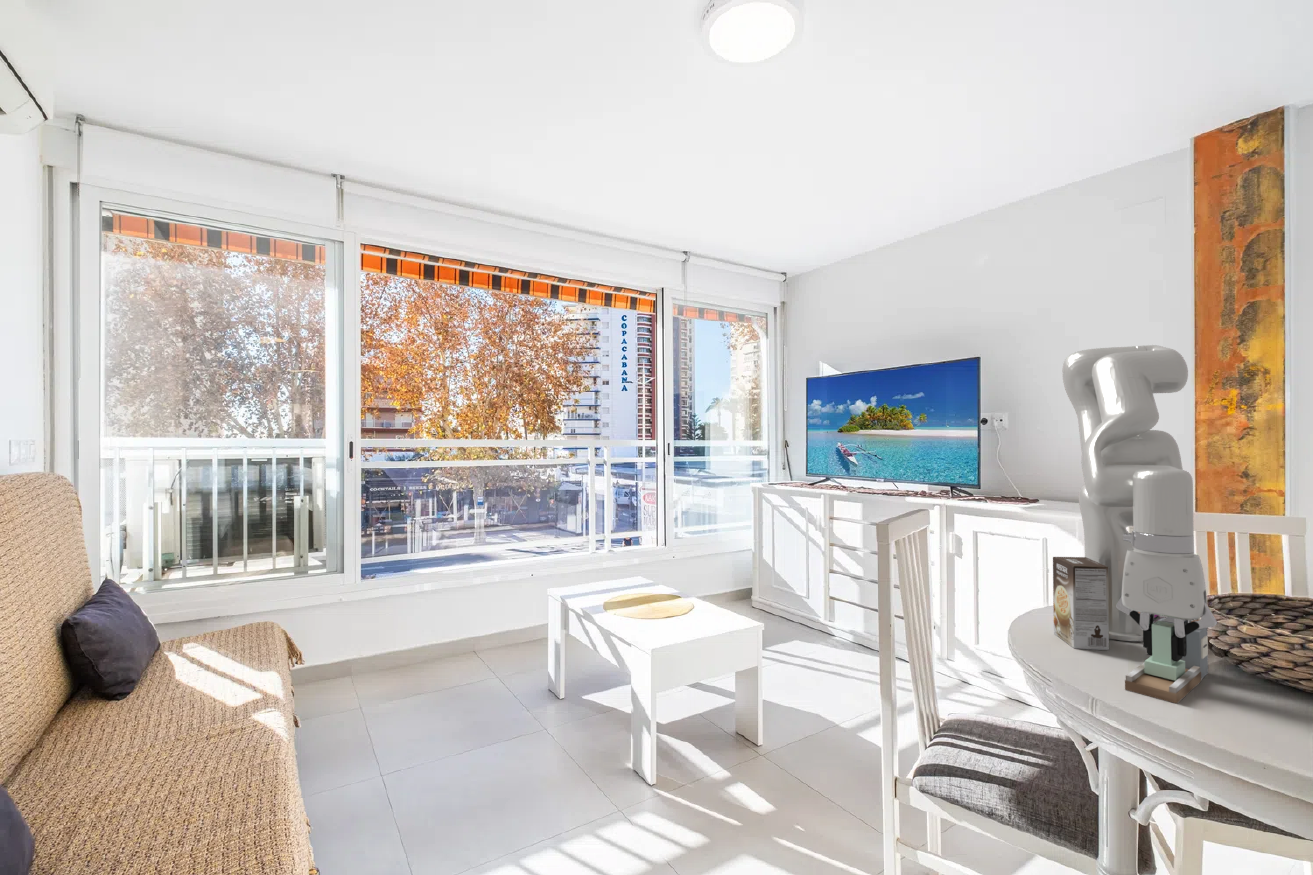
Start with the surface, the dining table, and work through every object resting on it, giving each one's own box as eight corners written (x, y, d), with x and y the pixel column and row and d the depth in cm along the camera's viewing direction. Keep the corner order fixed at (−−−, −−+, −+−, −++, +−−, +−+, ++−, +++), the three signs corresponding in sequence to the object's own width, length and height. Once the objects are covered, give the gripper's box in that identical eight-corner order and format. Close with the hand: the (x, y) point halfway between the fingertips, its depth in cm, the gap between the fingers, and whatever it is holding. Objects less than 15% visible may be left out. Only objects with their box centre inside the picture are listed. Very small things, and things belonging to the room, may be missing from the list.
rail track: (1152, 669, 103) (1152, 655, 103) (1201, 681, 98) (1201, 667, 98) (1125, 689, 95) (1124, 675, 95) (1176, 703, 90) (1176, 688, 90)
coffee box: (1051, 633, 122) (1050, 555, 122) (1086, 635, 121) (1085, 556, 121) (1073, 649, 113) (1072, 565, 113) (1111, 651, 112) (1110, 566, 112)
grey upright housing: (1163, 662, 106) (1162, 614, 106) (1210, 673, 101) (1209, 623, 101) (1154, 669, 103) (1153, 619, 103) (1202, 680, 98) (1201, 628, 98)
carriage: (1154, 665, 100) (1153, 618, 100) (1185, 673, 96) (1184, 624, 96) (1144, 672, 97) (1143, 624, 97) (1176, 680, 93) (1175, 630, 94)
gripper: (1095, 540, 101) (1097, 647, 101) (1224, 554, 88) (1226, 678, 88) (1111, 535, 105) (1113, 638, 105) (1236, 548, 92) (1238, 666, 92)
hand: (1164, 655), depth 97 cm, fingers closed on carriage, 2 cm apart
